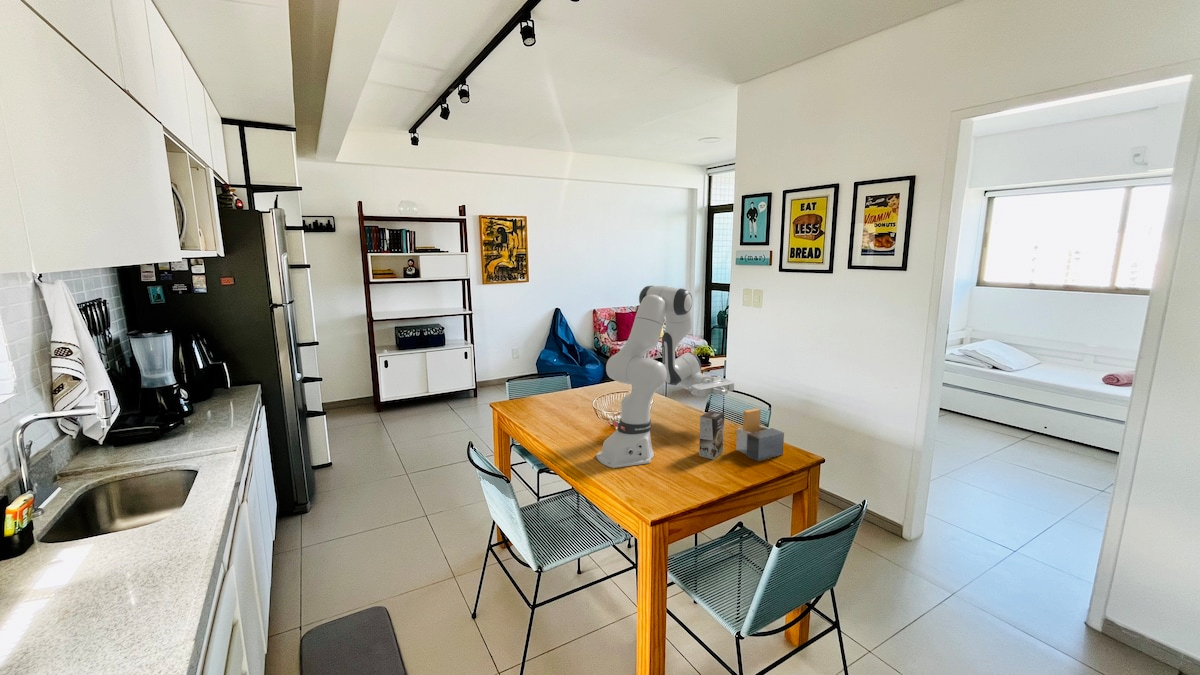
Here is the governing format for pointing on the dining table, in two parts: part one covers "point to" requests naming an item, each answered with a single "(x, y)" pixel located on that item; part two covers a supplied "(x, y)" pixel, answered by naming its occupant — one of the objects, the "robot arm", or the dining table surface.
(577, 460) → the dining table surface
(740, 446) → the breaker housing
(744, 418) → the breaker paddle
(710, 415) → the coffee box
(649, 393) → the robot arm
